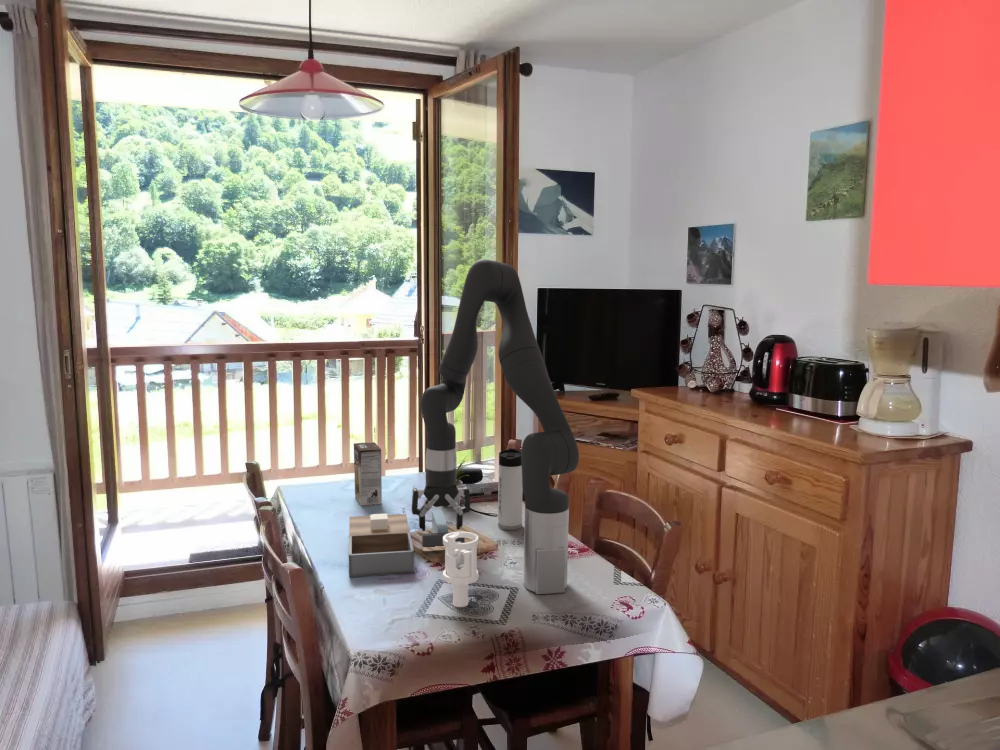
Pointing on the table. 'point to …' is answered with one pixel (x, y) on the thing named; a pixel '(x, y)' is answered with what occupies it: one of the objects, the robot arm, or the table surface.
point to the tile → (378, 521)
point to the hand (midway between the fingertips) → (440, 529)
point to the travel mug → (510, 490)
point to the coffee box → (367, 473)
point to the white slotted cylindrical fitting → (460, 565)
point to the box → (381, 562)
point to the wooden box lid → (379, 535)
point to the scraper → (437, 531)
